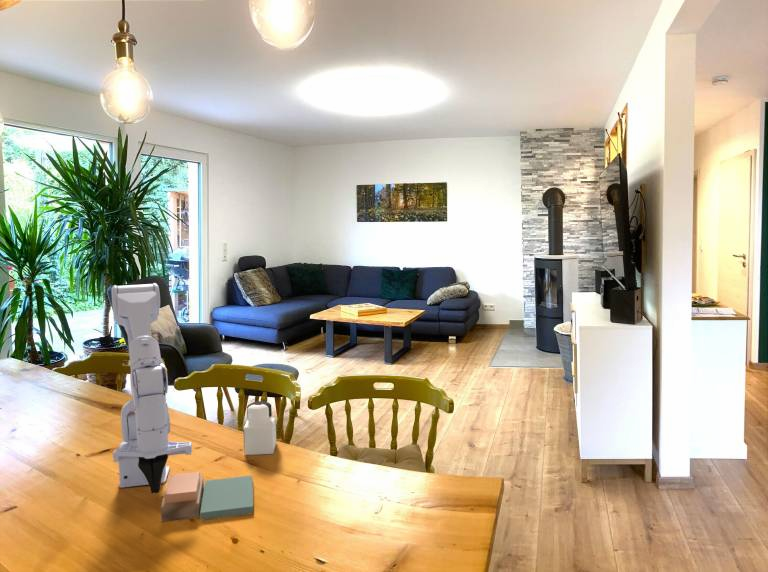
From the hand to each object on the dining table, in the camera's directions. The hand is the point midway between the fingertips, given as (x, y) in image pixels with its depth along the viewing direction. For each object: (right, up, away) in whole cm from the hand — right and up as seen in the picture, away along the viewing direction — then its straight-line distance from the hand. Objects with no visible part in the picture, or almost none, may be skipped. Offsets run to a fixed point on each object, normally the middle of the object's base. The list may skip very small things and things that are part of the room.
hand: (155, 490), depth 115 cm
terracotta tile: (+5, -1, +1) cm, 5 cm away
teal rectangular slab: (+14, -3, +4) cm, 14 cm away
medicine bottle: (+15, 0, +30) cm, 33 cm away
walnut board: (+5, -4, +2) cm, 6 cm away
